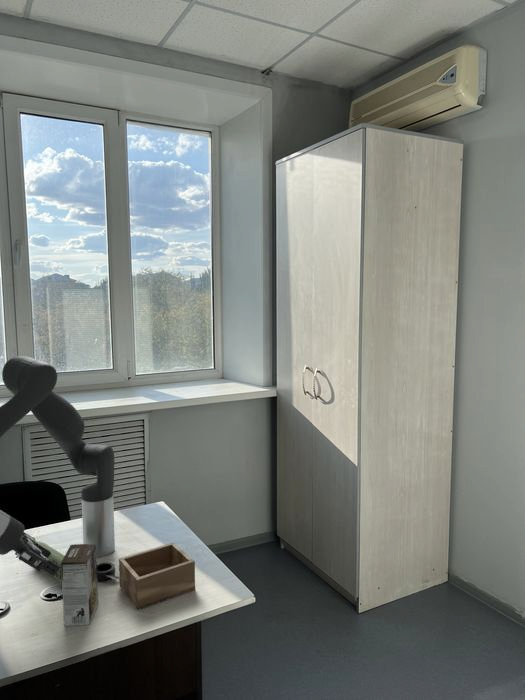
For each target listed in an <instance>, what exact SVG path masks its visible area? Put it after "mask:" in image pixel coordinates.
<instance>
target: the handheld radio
mask: <svg viewBox="0 0 525 700" xmlns="http://www.w3.org/2000/svg"><path fill="white" fill-rule="evenodd" d="M37 542H38V543H39V545H41V546H43V547H44V548H46V549H47V550H49V551H50V552H51V554H50V556H49V557H48V558H47V559H48V560H50V561H52V562H53V563H55V564H57V565H58V566H59V567H60V569H59V570H58V572H57V573H56V574H55V575H51V574H49V573H48V572H46V571H44V570H43V569H42V570H41V571H44V572H45V573H46V574H48V575H49V576H51V578H54V579H55V580H56V581H57V582H59V583H61V584H62V569H61V562H62V560H63V558H64V556H65V554H63V553H61V552H60V551H58V550H57V549H54V548H53V547H51V546H50V545H48V544H46V543H45V542H43V541H37ZM36 562H37V563H38V564H39V562H40V560H37V561H36Z"/></svg>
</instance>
